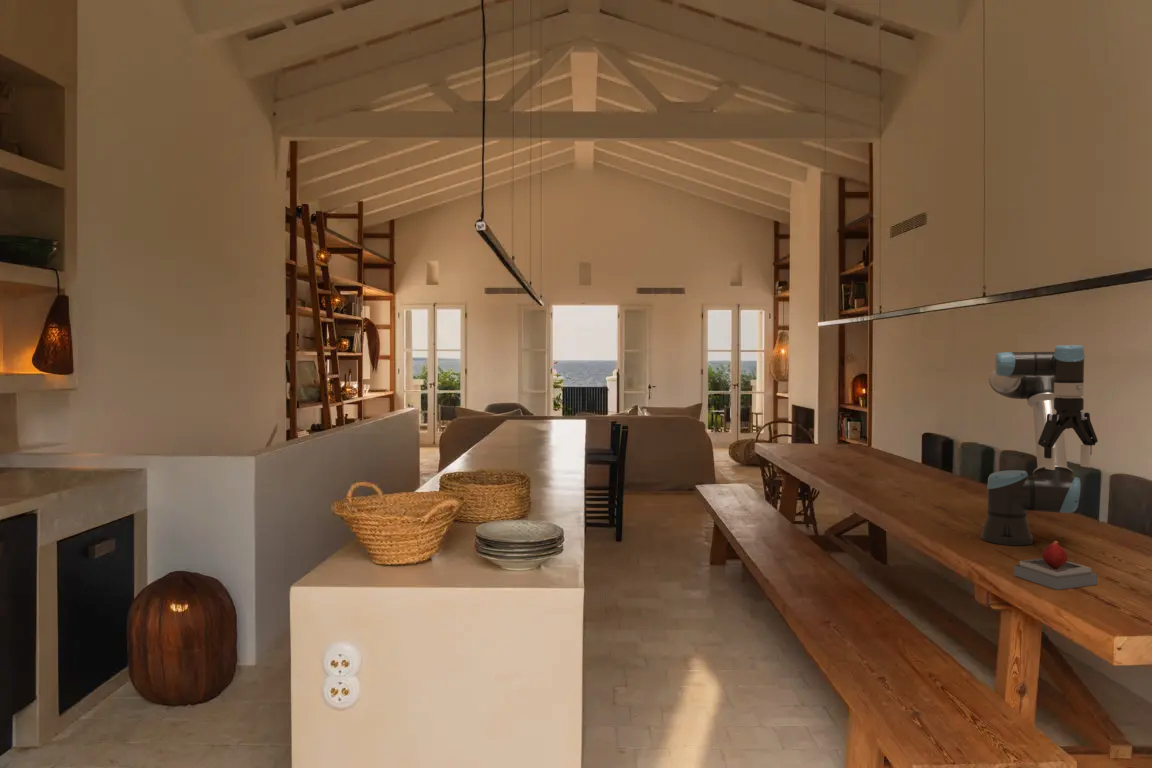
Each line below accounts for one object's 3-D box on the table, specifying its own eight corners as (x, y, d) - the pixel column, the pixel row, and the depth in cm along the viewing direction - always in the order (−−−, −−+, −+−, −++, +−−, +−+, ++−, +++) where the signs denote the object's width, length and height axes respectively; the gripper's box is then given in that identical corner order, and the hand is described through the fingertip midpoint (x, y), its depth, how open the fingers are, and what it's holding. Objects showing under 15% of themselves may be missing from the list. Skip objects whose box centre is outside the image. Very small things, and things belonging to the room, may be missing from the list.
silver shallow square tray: (1014, 575, 224) (1014, 560, 224) (1052, 571, 228) (1052, 555, 228) (1057, 589, 211) (1057, 573, 211) (1097, 584, 215) (1097, 568, 215)
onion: (1044, 571, 218) (1045, 542, 218) (1040, 565, 223) (1041, 537, 223) (1069, 573, 216) (1069, 544, 216) (1064, 567, 221) (1064, 539, 221)
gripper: (1046, 399, 227) (1045, 472, 228) (1112, 396, 234) (1111, 467, 235) (1024, 397, 234) (1024, 468, 235) (1089, 395, 241) (1088, 463, 242)
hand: (1067, 468), depth 235 cm, fingers open, 13 cm apart
